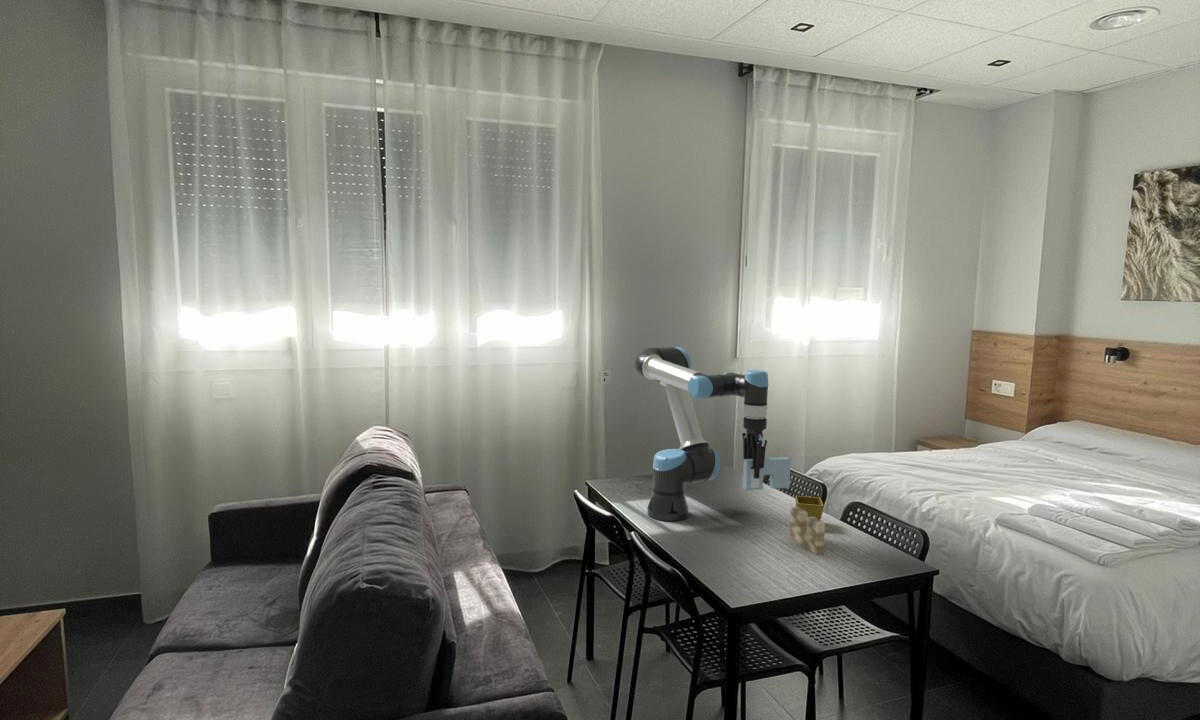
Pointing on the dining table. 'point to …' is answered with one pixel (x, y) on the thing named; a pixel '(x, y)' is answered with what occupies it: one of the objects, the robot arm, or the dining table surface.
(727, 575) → the dining table surface
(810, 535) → the tan wooden block
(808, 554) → the dining table surface
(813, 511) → the flower pot
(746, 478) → the pale blue upright slab
